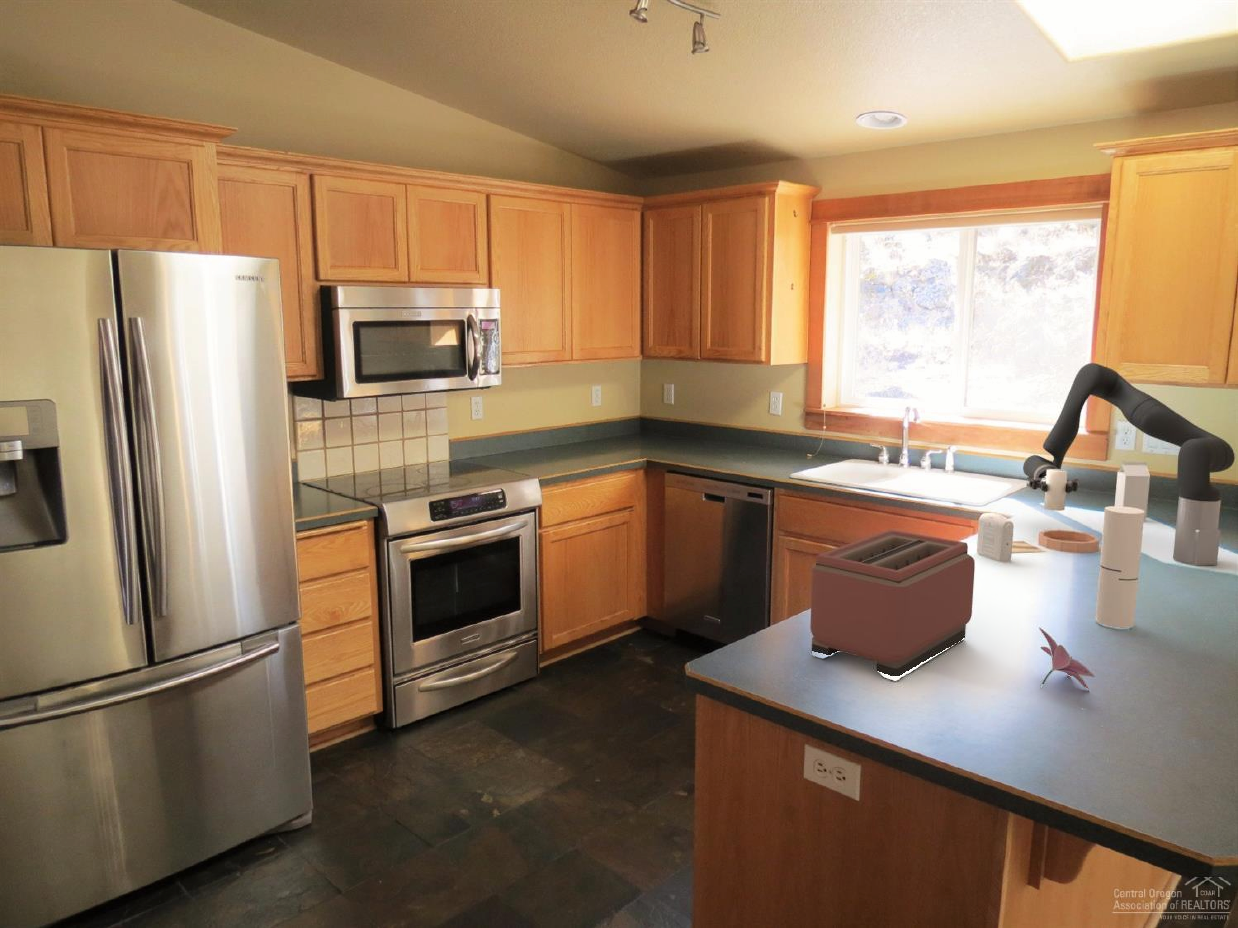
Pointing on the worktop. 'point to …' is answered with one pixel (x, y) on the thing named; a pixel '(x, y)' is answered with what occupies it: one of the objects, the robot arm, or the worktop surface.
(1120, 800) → the worktop surface
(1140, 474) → the milk carton
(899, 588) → the toaster
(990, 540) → the photo printer
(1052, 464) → the robot arm
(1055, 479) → the pillar candle
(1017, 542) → the cork mat
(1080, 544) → the bowl
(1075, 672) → the lily
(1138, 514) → the cylindrical container
